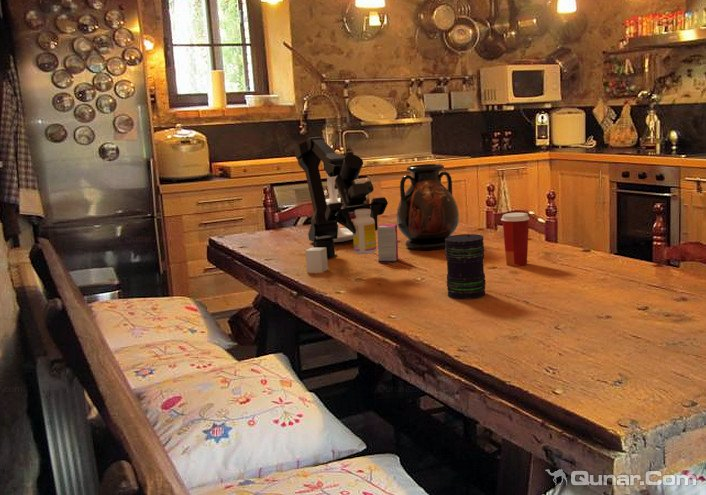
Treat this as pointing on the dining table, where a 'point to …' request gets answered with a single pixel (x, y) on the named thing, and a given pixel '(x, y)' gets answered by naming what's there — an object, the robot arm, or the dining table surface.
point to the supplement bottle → (364, 232)
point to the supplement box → (387, 243)
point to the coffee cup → (516, 238)
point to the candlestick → (343, 233)
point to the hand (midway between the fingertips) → (365, 231)
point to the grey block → (316, 260)
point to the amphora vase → (427, 208)
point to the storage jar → (465, 266)
